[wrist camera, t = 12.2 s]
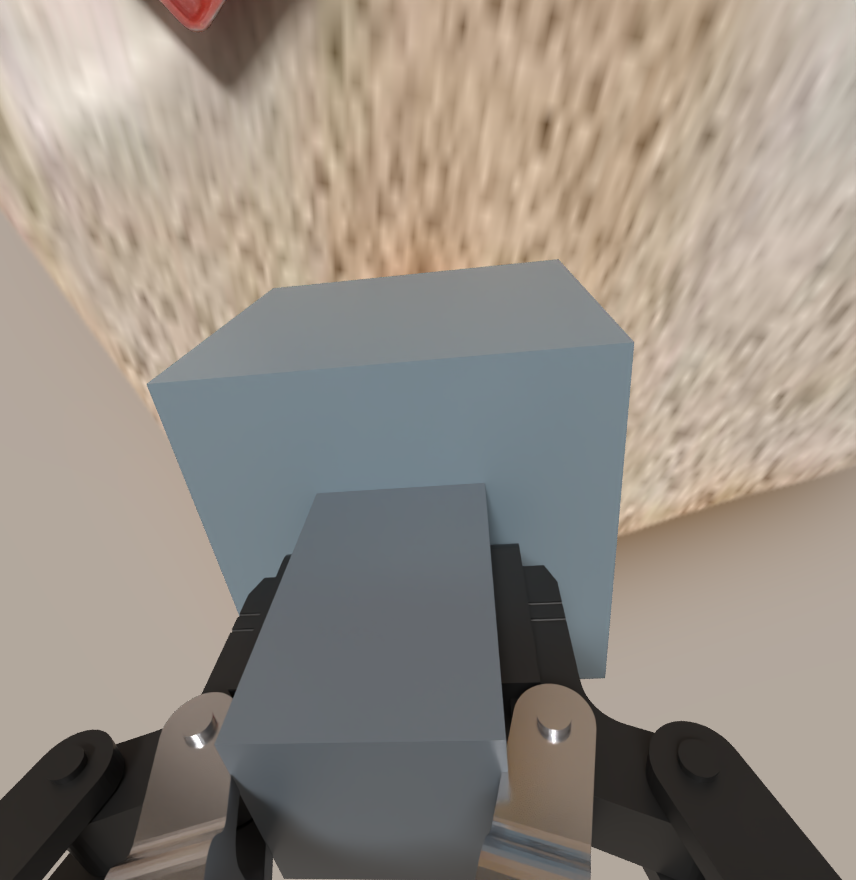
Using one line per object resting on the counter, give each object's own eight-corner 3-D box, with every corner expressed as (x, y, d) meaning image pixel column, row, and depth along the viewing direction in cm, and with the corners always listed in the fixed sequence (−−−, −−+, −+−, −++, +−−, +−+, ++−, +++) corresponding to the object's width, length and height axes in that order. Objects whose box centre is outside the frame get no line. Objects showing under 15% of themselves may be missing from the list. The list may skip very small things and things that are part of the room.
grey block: (558, 259, 18) (818, 545, 5) (555, 500, 23) (682, 957, 10) (272, 288, 19) (-126, 590, 6) (329, 513, 24) (177, 945, 11)
